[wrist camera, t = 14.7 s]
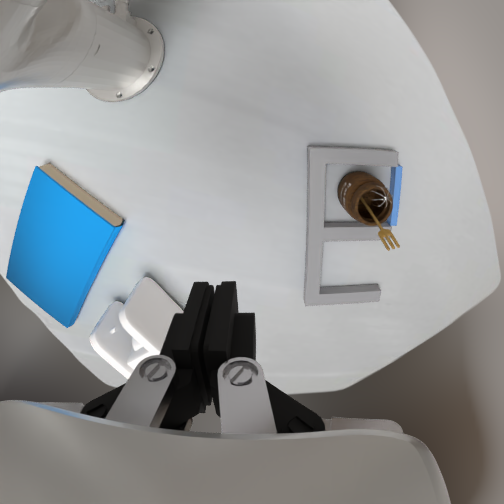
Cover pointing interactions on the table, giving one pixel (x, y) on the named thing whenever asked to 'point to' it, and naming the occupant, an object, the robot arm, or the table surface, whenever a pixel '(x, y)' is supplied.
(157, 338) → the cable organizer
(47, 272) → the book
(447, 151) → the table surface
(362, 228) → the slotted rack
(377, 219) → the utensil holder
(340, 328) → the table surface
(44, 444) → the robot arm
